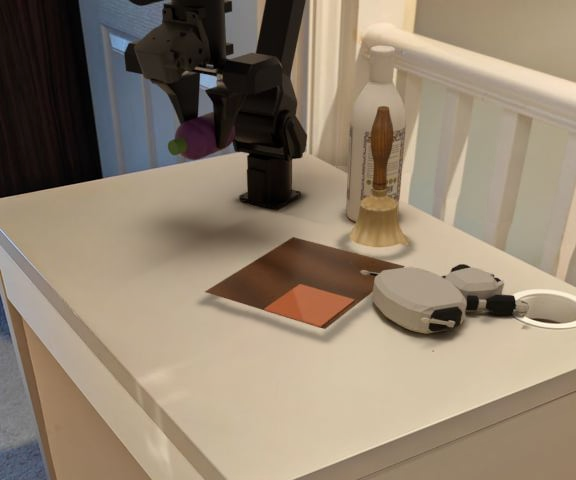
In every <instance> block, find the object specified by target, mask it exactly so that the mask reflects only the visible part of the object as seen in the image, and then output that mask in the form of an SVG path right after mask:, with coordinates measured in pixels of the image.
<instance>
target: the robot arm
mask: <svg viewBox="0 0 576 480" xmlns="http://www.w3.org/2000/svg"><path fill="white" fill-rule="evenodd" d="M128 1H129V2H130V3H131V4H133V5H136V6H139V7H144V6H148V5H152V4H156V3H159V2H164V1H165V0H128ZM306 1H307V0H265V2H264V7H263V12H262V17H261V22H260V28H259V29H260V30H259V32H258V33H259V34H258V39H257V43H256V49H255V52H249V53H246V54H242V55H239V56H236V57H232V58H227V57H228V56H230V55H234V53H235V49H234V48H235V47H234V43H231V42H227V32H226V31H227V29H226V14H228V13H232V12H233V1H232V0H170V2H165V3H163V4H162V6H163V8H162V9H161V15H162V20H161V23H160V25H158V26H156V27H154V28H153V29H151V30H150V31H149V32H148V33H147V34H146V35H145V36H143V37H142V38H141V39H138V40H136V41H131V42H128V44H127V46H126V48H125V50H124V53H123V55H124V64H125V65H124V66H125V72H127V73H128V72H129V73H134V74H139V75H142V76H143V78H144V79H146V80H149V81H150V82H151V84H154V85H156V86H157V87H158V88H160V89H161V90H162V91H163V92H164V93H165V94H166V95H167V97H168V98H169V100H170V103H171V105H172V107H173V109H174V111H175V114H176V116H177V119H178V121H179V125H181V124H182V123H184V122H186V121H189V120H192V119H194V118H197V117H199V104H200V88H201V87H200V85H201V75H207V76H213V77H216V81H215V83H216V86H213V87H209V88H207V89H204V92H205V94H206V95H207V96H208V98H209V99H210V102H212V110H213V111H212V112H214V128H215V139H216V145H217V149H220V151H222V150H221V149H223V148H225V146H226V143H227V141H228V138H229V135H230V133H231V130H232V128H233V125H234V127H235V136H234V139H233V141H232V146H233V150H234V153H235V152H236V153H243V154H248V155H246V165H247V166H246V167H247V168H246V191H245V192H244V193H242V194H240V195H238V198H239V201H243V202H246V203H250V204H255V205H259V206H263V207H267V208H271V209H276V210H277V209H280V208H281V207H283V206H285V205H287V204H288V203H290V202H292V201H294V200H295V199H297V198H299V197H301V196H302V191H301V190H297V189H293V160H298V159H302V158H303V156H304V155H303V154H305V152H306V147H307V143H308V142H307V140H308V134H307V132H306V130H305V128H304V127H303V125H302V124H301V122H300V120H299V119H298V117H297V109H298V99H297V96H296V93H295V89H294V85H293V81H292V79H291V76H292V70H293V66H294V60H295V55H296V50H297V45H298V41H299V35H300V31H301V27H302V26H301V25H302V20H303V16H304V12H305V11H304V10H305V7H306ZM225 149H226V148H225ZM223 150H224V149H223Z"/></svg>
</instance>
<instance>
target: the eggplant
mask: <svg viewBox="0 0 576 480" xmlns="http://www.w3.org/2000/svg"><path fill="white" fill-rule="evenodd" d="M234 136H235V127H234V125H233V128H232V130H231V133H230V135H229V138H228V141H227V143H226V146H225V148H223V149H221V150H220V149H217V145H216V139H215V128H214V112H213V111H212V112H211V111H210V112H208V113H206V114H203V115H200V116H198V117H197V118H194V119H192V120H189V121H186V122H184V123H182V124H179V126H178V127H177V129H176V130H175V133H174V139H171V140H169V141H168V143H167V149H168V153H170V154H171V156H178V155H181V156H182V157H183V158H184V159H186V160H189V161H198V160H201V159H203V158H205V157H208V156H210V155H213V154H215V153H217V152H220V151H223V150H226V149H227V148H228V147H230V146H231V144H233V142H232V141H233V139H234Z"/></svg>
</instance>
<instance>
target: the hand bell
mask: <svg viewBox="0 0 576 480" xmlns="http://www.w3.org/2000/svg"><path fill="white" fill-rule="evenodd" d="M392 144H393V125H392V121H391V117H390V112H389V107H386V106H380V107H378V110H377V114H376V117H375V120H374V123H373V126H372V130H371V152H372V156H373V161H374V174H373V184H372V187H373V191H372V195H371V196H369V197H366V198H364V199H363V200H362V201H361V203H360V209H359V215H358V218H357V221H356V222H355V224H354V226H353V227H352V230H351V231H350V232H349V235H348V236H349V239H350V240H351V241H352V242H354V243H355V244H358V245H361V246H364V247H371V248H389V247H394V246H397V245H400V244H401V245H403V246H404V245H405V246H408V247H410V241H409V239H408V236H407V235H406V234H404V232H403V230H402V229H401V226H400V221H399V213H398V214H397V202H396V201H395V200H394V199H393V198H391V197H389V196H387V188H386V187H387V183H386V181H387V164H388V159H389V157H390V154H391V150H392Z"/></svg>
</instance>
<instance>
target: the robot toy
mask: <svg viewBox="0 0 576 480" xmlns="http://www.w3.org/2000/svg"><path fill="white" fill-rule="evenodd" d="M360 272H361V273H362V274H363V275H373V276H376V277H375V280H374V287H373V292H372V293H371V294H372V295H371V299H372V301H373V303H374V305H375V306H376V307H377V308H378V310H379V311H380V312H381V313H382V314H383V315H384V316H385V318H387V319H389V320H390V321H392V322H394V323H395V324H397V325H399V327H403V328H405V329H407V330H409V331H412V332H416V333H420V334H424V335H425V334H426V335H427V334H432V333H433V334H434V333H438V332H439V333H440V332H444V331H450V330H455V329H456V328H458V327H459V326H460V325H461V324H462V323H463V322H464V319H465V315H466V314H465V313H476V312H483V311H489V312H491V313H493V314H494V315H497V316H513V314H514V311H516V312H519V313H527V312H528V311H529V309H530V304H529V303H528V301H526V299H525V300H523V299H520V298H518V299H516V297H515V295H513V294H503V290H504V286H505V282H504V280H503V279H500V278H499V277H496V276H495V273H491V272H488V271H485V270H483V269H481V268H476V267H473V266H472V267H471V266H470V265H468V264H465V263H459V264H457V265H455V266H453V267H451V269H450V271H449V273H448V274H446V275H439V274H437V273H435V272H432V271H430V270H427V269H424V268H420V267H415V266H406V267H404V268H398V269H391V270H383V271H382V272H381V273H374V272H368V271H366V270H362V271H360Z"/></svg>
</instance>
